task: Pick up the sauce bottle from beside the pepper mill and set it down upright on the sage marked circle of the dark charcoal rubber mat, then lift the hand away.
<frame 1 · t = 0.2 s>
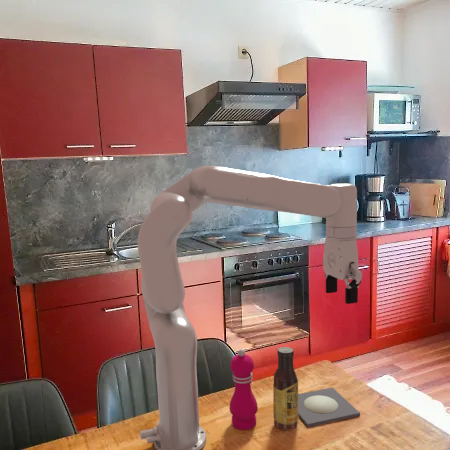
hand: (341, 297, 116), 31 cm above the table, tool pointing down, fingers open, 9 cm apart
pepper mill: (244, 423, 116), on the table
sauce bottle: (286, 424, 114), on the table
bottle mat: (320, 407, 122), on the table
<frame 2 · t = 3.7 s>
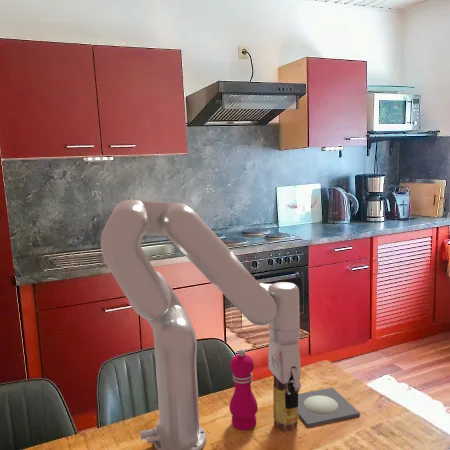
hand: (285, 399, 114), 7 cm above the table, tool pointing down, fingers closed on sauce bottle, 6 cm apart
sauce bottle: (286, 424, 114), on the table, touching gripper
everything else where it was.
when the fingers open (9 cm above the table, at t = 10.8 s): sauce bottle drops 1 cm, resting on bottle mat.
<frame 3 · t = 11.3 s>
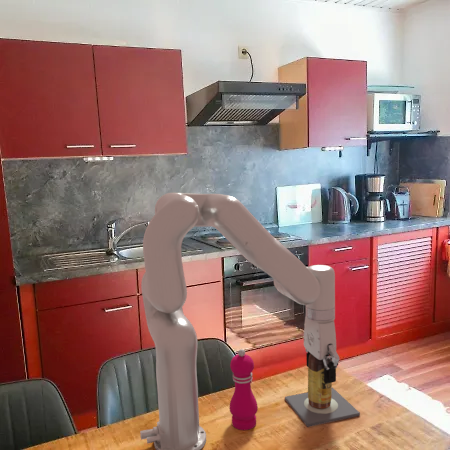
hand: (320, 373, 120), 10 cm above the table, tool pointing down, fingers open, 9 cm apart
sauce bottle: (319, 404, 122), point 1 cm above the table, touching bottle mat
everything else where it was.
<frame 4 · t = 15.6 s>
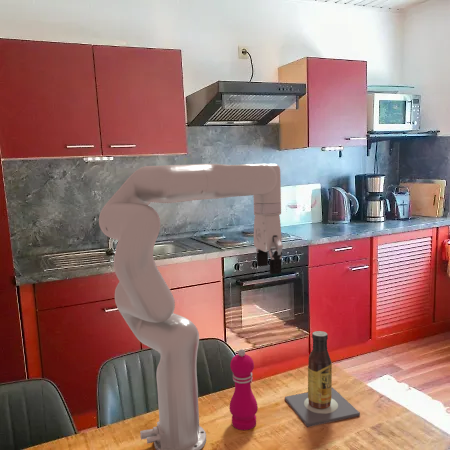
hand: (268, 269, 126), 36 cm above the table, tool pointing down, fingers open, 9 cm apart
nothing on the table moved.
at the end: sauce bottle inside the target area on the bottle mat (0.3 cm from its centre), point 0.7 cm above the bottle mat's base; sauce bottle tilted 0°; the gripper is holding nothing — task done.
